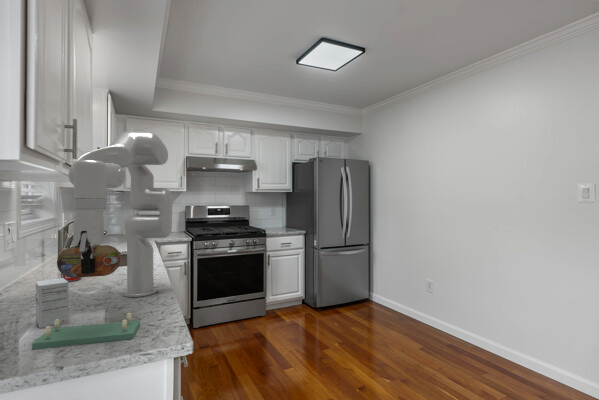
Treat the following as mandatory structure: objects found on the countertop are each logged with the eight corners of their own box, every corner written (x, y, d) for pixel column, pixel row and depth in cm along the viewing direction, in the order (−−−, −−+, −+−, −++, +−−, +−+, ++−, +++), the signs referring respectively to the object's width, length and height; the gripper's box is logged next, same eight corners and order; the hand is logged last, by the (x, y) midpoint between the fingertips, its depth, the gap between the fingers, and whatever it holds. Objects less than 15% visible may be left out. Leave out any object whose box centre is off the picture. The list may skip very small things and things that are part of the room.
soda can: (65, 283, 147) (65, 250, 147) (57, 281, 151) (57, 248, 151) (84, 279, 154) (84, 247, 154) (76, 277, 158) (76, 246, 158)
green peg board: (50, 333, 92) (50, 317, 92) (139, 325, 98) (139, 309, 98) (32, 349, 82) (32, 330, 82) (132, 338, 89) (132, 321, 89)
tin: (56, 279, 87) (56, 247, 87) (61, 276, 90) (61, 245, 90) (119, 275, 91) (119, 245, 91) (122, 272, 94) (122, 243, 94)
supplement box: (35, 322, 101) (35, 281, 101) (64, 316, 106) (64, 277, 106) (38, 329, 96) (38, 285, 96) (69, 322, 101) (68, 281, 101)
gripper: (85, 205, 97) (85, 267, 97) (62, 205, 82) (62, 279, 81) (113, 205, 99) (113, 265, 99) (96, 205, 84) (96, 277, 83)
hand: (90, 271), depth 90 cm, fingers closed on tin, 2 cm apart
